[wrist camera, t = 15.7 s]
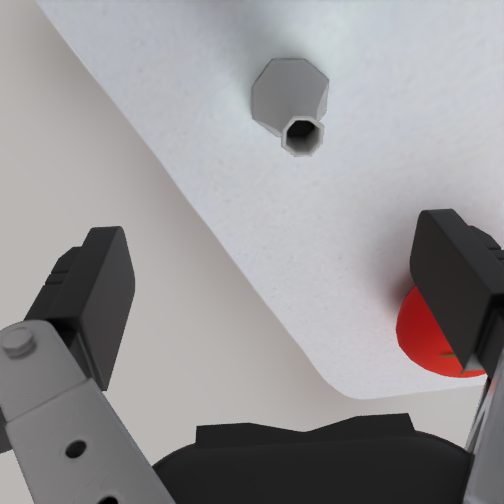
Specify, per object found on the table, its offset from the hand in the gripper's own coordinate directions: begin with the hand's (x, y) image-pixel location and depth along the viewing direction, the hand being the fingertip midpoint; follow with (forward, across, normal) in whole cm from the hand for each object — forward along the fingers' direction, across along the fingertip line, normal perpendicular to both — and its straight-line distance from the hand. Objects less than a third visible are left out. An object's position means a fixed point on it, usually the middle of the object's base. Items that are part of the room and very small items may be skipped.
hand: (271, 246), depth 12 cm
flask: (+31, -4, +4) cm, 32 cm away
